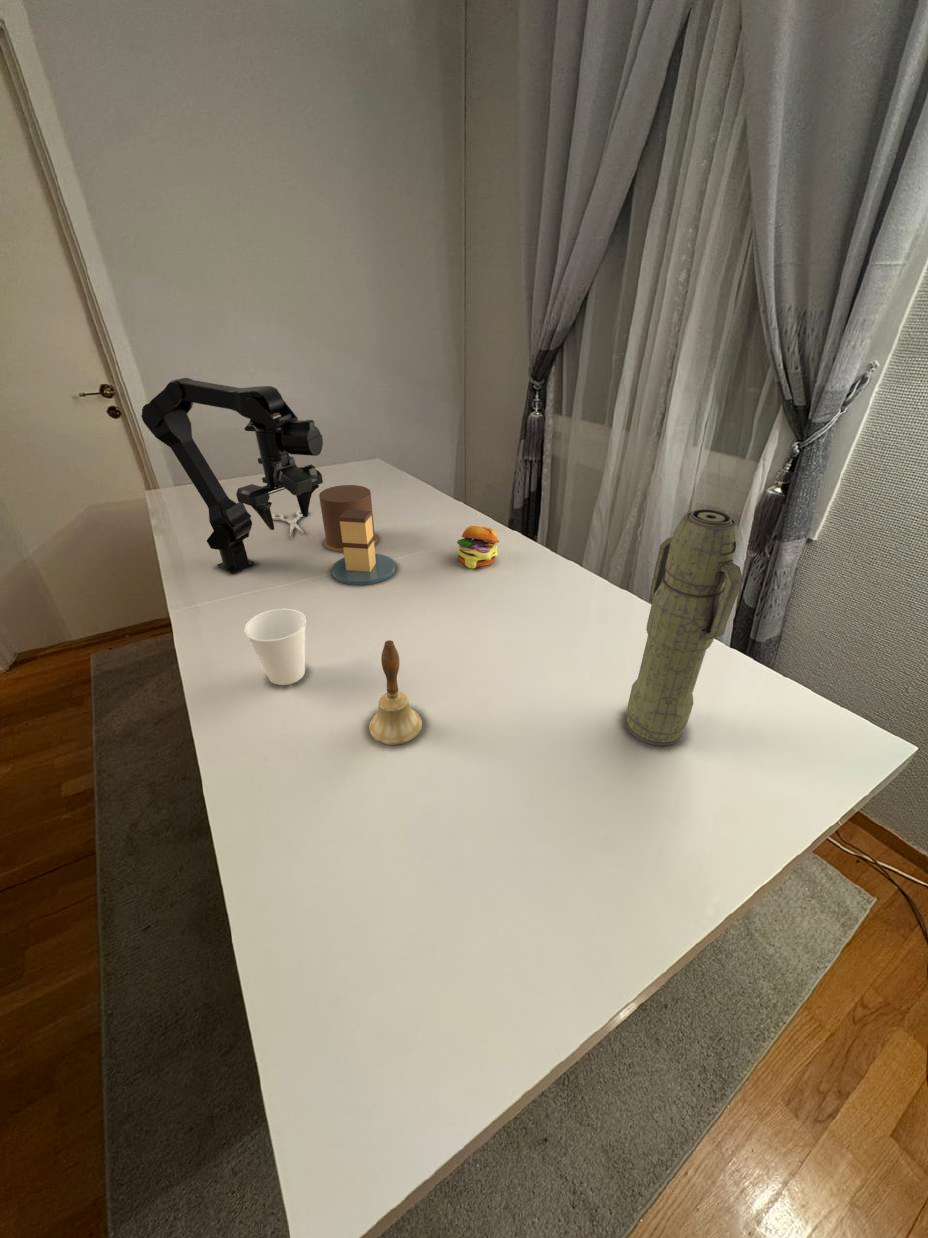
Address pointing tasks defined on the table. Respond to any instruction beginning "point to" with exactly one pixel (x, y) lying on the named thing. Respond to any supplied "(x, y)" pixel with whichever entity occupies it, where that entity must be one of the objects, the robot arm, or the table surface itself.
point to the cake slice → (358, 540)
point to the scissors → (292, 522)
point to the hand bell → (393, 706)
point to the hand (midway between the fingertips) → (289, 523)
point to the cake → (342, 510)
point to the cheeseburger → (478, 546)
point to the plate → (377, 574)
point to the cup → (279, 643)
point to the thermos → (683, 622)
